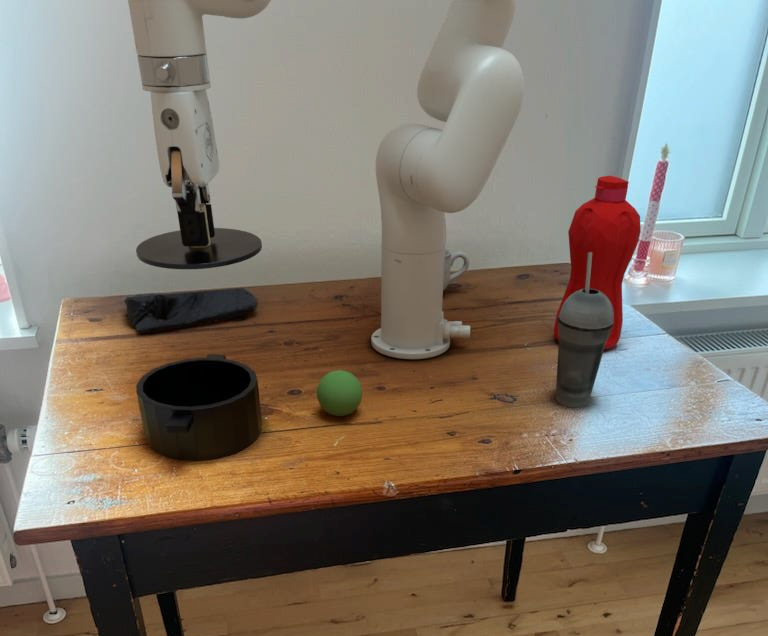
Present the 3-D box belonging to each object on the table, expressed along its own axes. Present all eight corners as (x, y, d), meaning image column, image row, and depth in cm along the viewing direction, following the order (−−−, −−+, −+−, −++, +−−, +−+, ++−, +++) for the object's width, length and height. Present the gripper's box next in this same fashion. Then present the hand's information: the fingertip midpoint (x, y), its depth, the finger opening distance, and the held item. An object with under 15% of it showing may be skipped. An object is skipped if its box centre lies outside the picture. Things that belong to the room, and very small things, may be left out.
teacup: (387, 301, 137) (388, 257, 132) (396, 282, 145) (397, 239, 141) (464, 306, 135) (467, 261, 130) (468, 286, 143) (471, 243, 139)
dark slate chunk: (264, 322, 128) (262, 294, 125) (131, 337, 122) (125, 309, 119) (248, 292, 140) (246, 267, 137) (125, 305, 134) (120, 279, 131)
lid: (270, 237, 102) (266, 190, 98) (251, 274, 89) (245, 222, 86) (156, 236, 102) (148, 190, 99) (121, 274, 90) (110, 222, 86)
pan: (273, 397, 105) (269, 350, 101) (245, 474, 89) (239, 422, 85) (170, 394, 105) (162, 347, 101) (123, 470, 89) (111, 418, 85)
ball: (364, 403, 104) (363, 363, 100) (360, 424, 99) (360, 383, 95) (320, 402, 104) (318, 362, 100) (315, 423, 99) (313, 381, 96)
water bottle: (635, 346, 121) (670, 179, 106) (580, 358, 117) (609, 186, 102) (597, 326, 127) (626, 167, 113) (544, 337, 123) (567, 173, 109)
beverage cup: (568, 416, 101) (593, 267, 89) (535, 394, 106) (554, 251, 95) (609, 405, 104) (639, 259, 92) (575, 384, 109) (599, 243, 97)
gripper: (191, 82, 77) (215, 261, 88) (222, 66, 91) (240, 223, 101) (119, 82, 78) (152, 261, 88) (161, 66, 91) (185, 223, 102)
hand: (199, 240), depth 95 cm, fingers closed on lid, 2 cm apart
